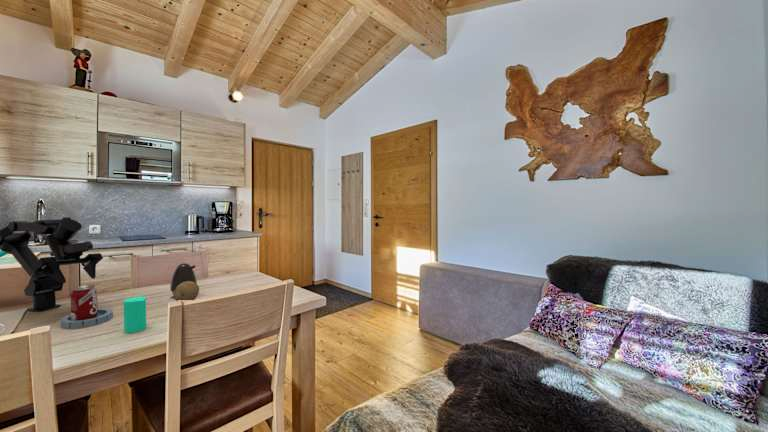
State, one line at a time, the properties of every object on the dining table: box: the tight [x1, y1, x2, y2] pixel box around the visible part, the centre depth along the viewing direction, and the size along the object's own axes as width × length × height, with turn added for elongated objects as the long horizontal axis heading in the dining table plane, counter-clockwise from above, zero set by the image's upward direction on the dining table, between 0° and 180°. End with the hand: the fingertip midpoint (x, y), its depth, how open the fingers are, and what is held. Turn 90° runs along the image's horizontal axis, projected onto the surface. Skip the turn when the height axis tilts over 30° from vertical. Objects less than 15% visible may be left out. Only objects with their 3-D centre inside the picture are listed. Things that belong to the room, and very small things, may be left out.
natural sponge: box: [172, 281, 200, 302], centre depth 126 cm, size 9×9×10 cm
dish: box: [60, 307, 114, 330], centre depth 107 cm, size 13×13×2 cm
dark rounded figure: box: [170, 262, 198, 295], centre depth 136 cm, size 10×10×15 cm
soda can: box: [69, 284, 99, 321], centre depth 106 cm, size 7×7×12 cm
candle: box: [123, 295, 147, 334], centre depth 102 cm, size 6×6×12 cm
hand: (80, 280), depth 110 cm, fingers open, 9 cm apart
